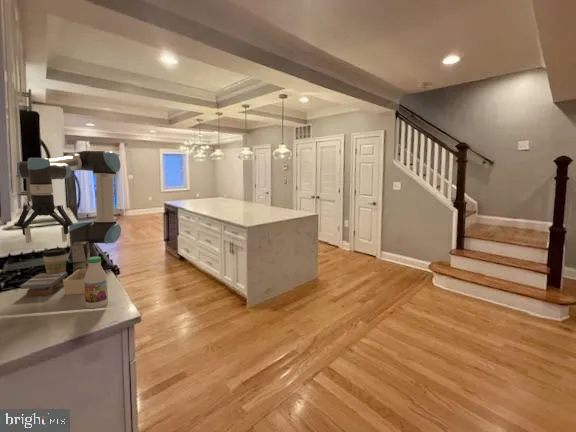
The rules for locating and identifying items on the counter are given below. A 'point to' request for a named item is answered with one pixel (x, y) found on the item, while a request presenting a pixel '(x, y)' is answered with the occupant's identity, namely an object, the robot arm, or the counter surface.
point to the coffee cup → (55, 260)
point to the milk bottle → (95, 284)
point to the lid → (43, 280)
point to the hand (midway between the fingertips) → (47, 241)
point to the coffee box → (80, 255)
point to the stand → (43, 290)
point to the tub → (75, 283)
